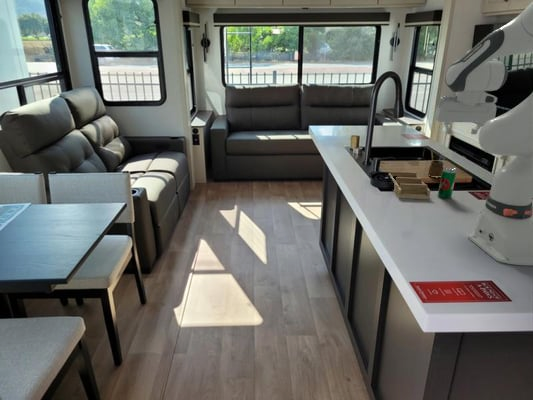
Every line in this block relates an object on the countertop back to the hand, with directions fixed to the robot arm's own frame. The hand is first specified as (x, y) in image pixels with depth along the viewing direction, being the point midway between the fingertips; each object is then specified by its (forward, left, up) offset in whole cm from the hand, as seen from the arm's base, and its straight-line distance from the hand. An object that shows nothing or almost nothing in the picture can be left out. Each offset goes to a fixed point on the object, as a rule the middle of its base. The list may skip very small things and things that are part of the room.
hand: (460, 133), depth 145 cm
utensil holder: (+26, -3, -26) cm, 37 cm away
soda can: (+1, +1, -26) cm, 26 cm away
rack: (+8, +14, -26) cm, 31 cm away
